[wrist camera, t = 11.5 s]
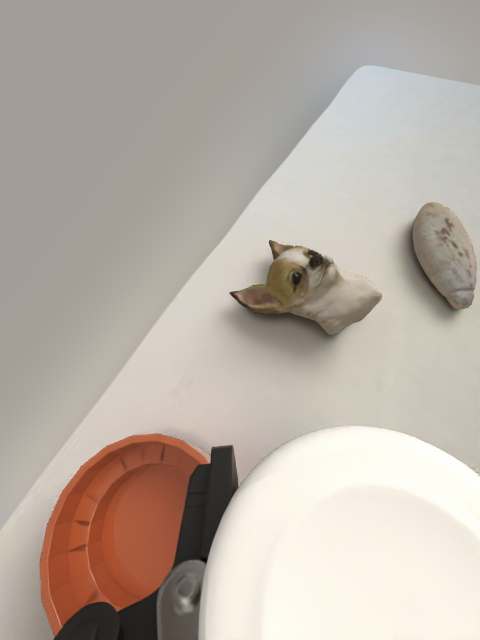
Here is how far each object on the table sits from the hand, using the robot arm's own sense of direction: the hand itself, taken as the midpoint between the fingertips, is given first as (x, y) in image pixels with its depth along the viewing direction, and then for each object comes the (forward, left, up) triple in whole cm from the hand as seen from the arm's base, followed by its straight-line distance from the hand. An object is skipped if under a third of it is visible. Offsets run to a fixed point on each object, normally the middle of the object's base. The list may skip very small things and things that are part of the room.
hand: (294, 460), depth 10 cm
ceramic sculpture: (-15, -11, -20) cm, 27 cm away
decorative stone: (-32, -4, -20) cm, 38 cm away
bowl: (+11, -3, -20) cm, 23 cm away
